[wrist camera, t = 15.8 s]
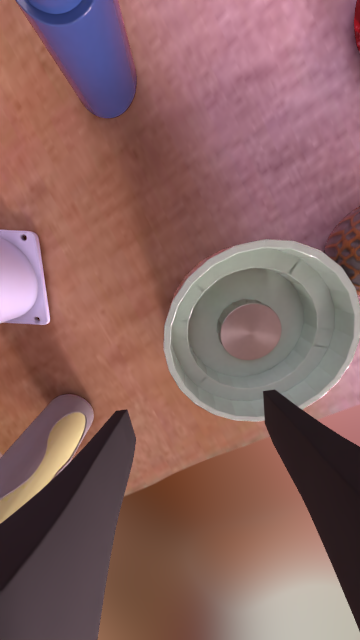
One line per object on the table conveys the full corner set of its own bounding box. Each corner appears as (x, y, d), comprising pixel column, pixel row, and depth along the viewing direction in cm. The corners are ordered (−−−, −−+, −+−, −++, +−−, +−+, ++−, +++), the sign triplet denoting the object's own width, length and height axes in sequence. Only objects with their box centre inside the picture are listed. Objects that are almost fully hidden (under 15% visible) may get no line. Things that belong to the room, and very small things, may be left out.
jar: (78, 119, 14) (-25, -18, 7) (67, 36, 13) (-72, -232, 6) (139, 117, 14) (95, -24, 7) (133, 33, 13) (73, -242, 6)
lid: (277, 342, 19) (287, 350, 17) (224, 358, 19) (228, 367, 17) (266, 290, 17) (275, 294, 15) (209, 309, 18) (212, 314, 16)
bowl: (165, 383, 21) (161, 416, 16) (171, 239, 17) (167, 233, 12) (299, 391, 21) (330, 425, 17) (338, 249, 17) (392, 246, 12)
